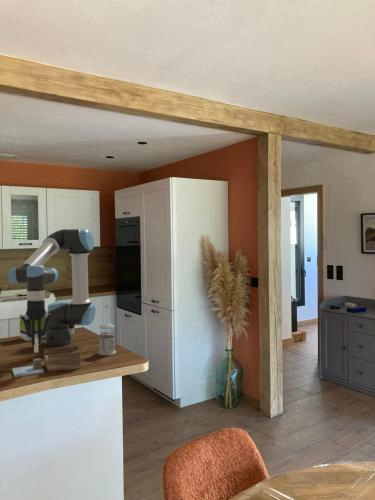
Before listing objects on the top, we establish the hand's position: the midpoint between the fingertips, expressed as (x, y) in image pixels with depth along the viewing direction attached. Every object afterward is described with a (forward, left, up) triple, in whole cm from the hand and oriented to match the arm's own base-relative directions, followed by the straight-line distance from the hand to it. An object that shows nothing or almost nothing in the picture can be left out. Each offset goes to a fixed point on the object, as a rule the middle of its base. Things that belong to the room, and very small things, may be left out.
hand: (36, 351), depth 186 cm
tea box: (-64, +8, -9) cm, 65 cm away
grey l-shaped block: (0, -4, -9) cm, 10 cm away
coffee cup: (-64, +27, -9) cm, 70 cm away
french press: (-13, +36, -9) cm, 40 cm away
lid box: (0, +11, -9) cm, 14 cm away
